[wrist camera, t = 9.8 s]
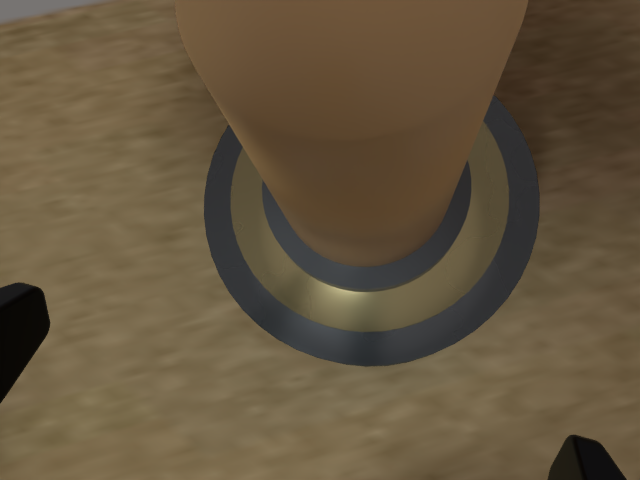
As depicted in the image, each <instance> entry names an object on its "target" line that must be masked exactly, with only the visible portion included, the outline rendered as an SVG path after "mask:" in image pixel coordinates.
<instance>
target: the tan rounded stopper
mask: <svg viewBox="0 0 640 480" xmlns="http://www.w3.org/2000/svg"><path fill="white" fill-rule="evenodd" d="M528 1H529V0H175V12H176V18H177V24H178V30H179V33H180V36H181V39H182V42H183V45H184V48H185V50H186V52H187V54H188V56H189V58H190V60H191V62H192V64H193V66H194V68H195V69H196V71H197V72H198V74H199V76H200V77H201V79H202V81H203V82H204V84H205V86H206V87H207V89H208V91H209V92H210V94H211V95H212V97H213V99H214V100H215V102H216V104H217V105H218V107H219V109H220V110H221V112H222V114H223V115H224V117H225V118H226V120H227V122H228V123H229V125H230V127H231V128H232V130H233V132H234V133H235V135H236V137H237V138H238V140H239V141H240V143H241V145H242V146H243V148H244V150H245V151H246V153H247V155H248V156H249V158H250V160H251V161H252V163H253V165H254V166H255V168H256V169H257V171H258V173H259V174H260V176H261V178H262V179H263V181H262V200H263V206H264V211H265V215H266V218H267V221H268V224H269V227H270V229H271V231H272V233H273V235H274V237H275V238H276V240H277V241H278V243H279V244H280V246H281V247H282V249H283V250H284V251H285V252H286V254H287V255H288V256H289V257H290V258H291V259H292V261H293V262H294V263H295V264H296V265H297V266H298V267H300V268H301V269H302V270H303V271H304V272H306V273H307V274H308V275H310V276H312V277H313V278H315V279H316V280H318V281H320V282H323V283H325V284H327V285H329V286H332V287H336V288H339V289H342V290H348V291H354V292H376V291H384V290H389V289H393V288H397V287H400V286H402V285H405V284H408V283H410V282H412V281H414V280H415V279H417V278H419V277H421V276H422V275H424V274H425V273H427V272H428V271H429V270H431V269H432V268H433V267H434V266H435V265H436V264H437V263H438V262H440V261H441V260H442V258H443V257H444V256H445V255H446V253H447V252H448V251H449V250H450V248H451V246H452V245H453V243H454V242H455V240H456V238H457V236H458V235H459V233H460V231H461V229H462V227H463V224H464V222H465V220H466V217H467V213H468V210H469V206H470V200H471V192H472V191H471V173H470V167H469V163H468V160H467V159H468V157H469V154H470V152H471V150H472V147H473V145H474V142H475V140H476V137H477V135H478V132H479V130H480V127H481V125H482V122H483V120H484V117H485V115H486V112H487V110H488V107H489V105H490V102H491V100H492V97H493V95H494V92H495V90H496V87H497V85H498V82H499V80H500V78H501V75H502V73H503V70H504V68H505V65H506V63H507V60H508V58H509V55H510V53H511V50H512V48H513V45H514V43H515V40H516V38H517V35H518V33H519V30H520V28H521V25H522V23H523V20H524V16H525V12H526V9H527V5H528Z"/></svg>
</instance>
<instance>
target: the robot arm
mask: <svg viewBox="0 0 640 480" xmlns="http://www.w3.org/2000/svg"><path fill="white" fill-rule="evenodd" d="M49 328H50V319H49V314H48V310H47V305H46V300H45V296H44V293H43V291H42V290H41V288H39V287H36V286H33V285H29V284H25V283H14V284H11V285H8V286H5V287H2V288H0V403H1V402H2V401H3V399H4V398H5V396H6V395H7V394H8V392H9V391H10V389H11V388H12V386H13V385H14V383H15V382H16V380H17V379H18V377H19V376H20V374H21V373H22V371H23V370H24V368H25V367H26V365H27V364H28V362H29V361H30V360H31V358H32V357H33V355H34V354H35V352H36V351H37V349H38V348H39V346H40V345H41V343H42V342H43V340H44V339H45V337H46V336H47V334H48V331H49ZM548 480H627V479H626V478H625V476H624V475H623V474H622V472H621V471H620V469H619V468H618V467H617V465H616V464H615V462H614V461H613V460H612V458H611V457H610V455H609V454H608V452H607V451H606V450H605V448H604V447H603V446H602V445H601V444H600V443H599V442H598V441H596V440H592V439H589V438H585V437H581V436H578V435H570V436H568V437H567V438H566V440H565V442H564V444H563V445H562V447H561V449H560V451H559V453H558V455H557V457H556V458H555V460H554V462H553V464H552V466H551V468H550V471H549V476H548Z"/></svg>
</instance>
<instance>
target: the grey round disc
mask: <svg viewBox="0 0 640 480" xmlns="http://www.w3.org/2000/svg"><path fill="white" fill-rule="evenodd" d="M467 160H468V163H469V167H470V173H471V191H472V192H471V200H470V206H469V210H468V213H467V217H466V220H465V222H464V224H463V227H462V229H461V231H460V233H459V235H458V236H457V238H456V240H455V242H454V243H453V245H452V246H451V248H450V250H449V251H448V252H447V253H446V255H445V256H444V257H443V258H442V260H441V261H440V262H438V263H437V264H436V265H435V266H434V267H433V268H432V269H431V270H429V271H428V272H427V273H425V274H424V275H422V276H421V277H419V278H417V279H415V280H414V281H412V282H410V283H408V284H405V285H402V286H400V287H397V288H393V289H389V290H384V291H376V292H354V291H348V290H342V289H339V288H336V287H332V286H329V285H327V284H325V283H323V282H320V281H318V280H316V279H315V278H313V277H312V276H310V275H308V274H307V273H306V272H304V271H303V270H302V269H301V268H300V267H298V266H297V265H296V264H295V263H294V262H293V261H292V259H291V258H290V257H289V256H288V255H287V254H286V252H285V251H284V250H283V249H282V247H281V246H280V244H279V243H278V241H277V240H276V238H275V237H274V235H273V233H272V231H271V229H270V227H269V224H268V221H267V218H266V215H265V211H264V206H263V200H262V181H263V179H262V178H261V176H260V174H259V173H258V171H257V169H256V168H255V166H254V165H253V163H252V161H251V160H250V158H249V156H248V155H247V153H246V151H245V150H244V148H243V146H242V145H241V143H240V141H239V140H238V138H237V137H236V135H235V133H234V132H233V130H232V128H231V127H230V125H228V127H227V129H226V130H225V132H224V134H223V135H222V137H221V139H220V141H219V144H218V146H217V148H216V151H215V153H214V155H213V158H212V162H211V165H210V168H209V172H208V176H207V182H206V189H205V195H204V219H205V227H206V236H207V240H208V244H209V248H210V251H211V255H212V258H213V260H214V263H215V265H216V268H217V270H218V273H219V275H220V277H221V279H222V280H223V282H224V284H225V285H226V287H227V289H228V291H229V292H230V294H231V295H232V296H233V298H234V299H235V300H236V302H237V303H238V304H239V305H240V307H241V308H242V309H243V311H245V312H246V313H247V314H248V315H249V316H250V317H251V318H252V319H253V320H254V321H255V322H256V323H257V324H258V325H259V326H260V327H262V328H263V329H264V330H266V331H267V332H268V333H270V334H271V335H272V336H274V337H275V338H276V339H278V340H280V341H282V342H284V343H285V344H287V345H289V346H291V347H293V348H295V349H296V350H299V351H302V352H304V353H307V354H309V355H312V356H315V357H317V358H321V359H325V360H329V361H333V362H337V363H342V364H346V365H355V366H365V367H370V366H389V365H395V364H401V363H407V362H410V361H413V360H416V359H419V358H423V357H426V356H428V355H431V354H434V353H436V352H438V351H440V350H442V349H444V348H446V347H449V346H451V345H453V344H455V343H456V342H458V341H460V340H461V339H463V338H464V337H466V336H467V335H469V334H470V333H472V332H473V331H475V330H476V329H477V328H478V327H480V326H481V325H482V324H483V323H484V322H485V321H486V320H488V319H489V318H490V317H491V316H492V315H493V314H494V313H495V312H496V311H497V310H498V308H499V307H500V306H501V305H502V304H503V303H504V302H505V300H506V299H507V298H508V297H509V295H510V294H511V292H512V290H513V289H514V287H515V286H516V284H517V283H518V281H519V280H520V278H521V276H522V274H523V272H524V269H525V267H526V265H527V263H528V261H529V259H530V255H531V252H532V249H533V245H534V242H535V239H536V234H537V227H538V221H539V187H538V180H537V173H536V169H535V166H534V162H533V159H532V155H531V152H530V149H529V147H528V145H527V143H526V140H525V138H524V136H523V134H522V132H521V130H520V129H519V127H518V125H517V124H516V122H515V120H514V119H513V117H512V116H511V114H510V113H509V112H508V111H507V109H506V108H505V107H504V106H503V104H502V103H501V102H500V101H499V100H498V98H496V97H495V96H494V95H493V97H492V100H491V102H490V105H489V107H488V110H487V112H486V115H485V117H484V120H483V122H482V125H481V127H480V130H479V132H478V135H477V137H476V140H475V142H474V145H473V147H472V150H471V152H470V154H469V157H468V159H467Z"/></svg>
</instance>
